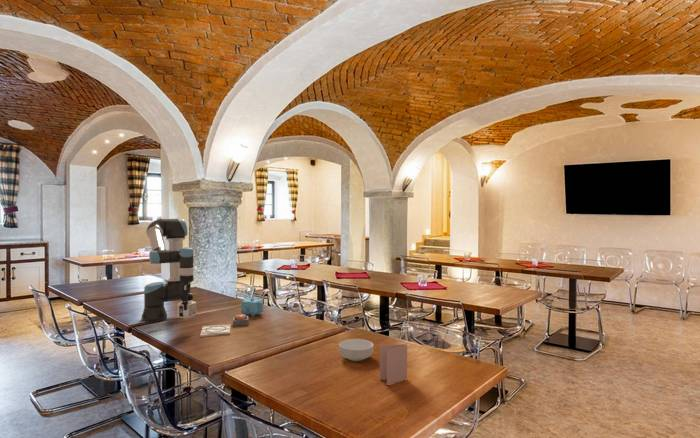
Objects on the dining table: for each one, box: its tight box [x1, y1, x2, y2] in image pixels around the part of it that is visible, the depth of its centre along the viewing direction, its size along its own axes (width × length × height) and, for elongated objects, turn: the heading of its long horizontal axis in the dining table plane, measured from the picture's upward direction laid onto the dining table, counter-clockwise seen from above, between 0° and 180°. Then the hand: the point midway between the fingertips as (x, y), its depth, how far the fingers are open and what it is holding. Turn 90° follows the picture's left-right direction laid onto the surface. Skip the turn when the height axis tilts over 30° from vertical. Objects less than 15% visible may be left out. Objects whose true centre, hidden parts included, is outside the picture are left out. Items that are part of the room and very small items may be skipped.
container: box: [176, 293, 197, 319], centre depth 244 cm, size 8×8×13 cm
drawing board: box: [199, 323, 232, 338], centre depth 247 cm, size 18×16×1 cm
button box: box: [232, 315, 249, 327], centre depth 263 cm, size 9×9×4 cm
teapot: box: [240, 296, 264, 318], centre depth 286 cm, size 16×18×11 cm
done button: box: [235, 313, 246, 320], centre depth 263 cm, size 6×6×2 cm
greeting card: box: [379, 344, 408, 386], centre depth 176 cm, size 11×7×15 cm, turn 92°
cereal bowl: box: [338, 338, 375, 362], centre depth 204 cm, size 17×17×7 cm
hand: (186, 312), depth 244 cm, fingers closed on container, 10 cm apart
